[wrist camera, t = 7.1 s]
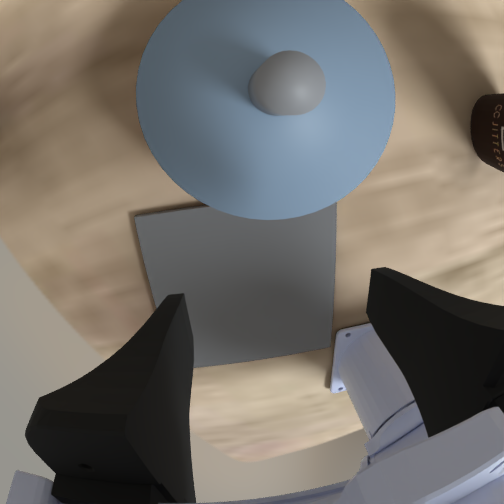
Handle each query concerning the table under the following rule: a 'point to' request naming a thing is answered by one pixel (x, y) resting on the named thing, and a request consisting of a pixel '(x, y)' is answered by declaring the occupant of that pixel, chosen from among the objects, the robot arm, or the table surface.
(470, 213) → the table surface
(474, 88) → the table surface
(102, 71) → the table surface
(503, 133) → the coffee mug
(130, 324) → the table surface
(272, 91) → the lid
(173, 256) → the mat
